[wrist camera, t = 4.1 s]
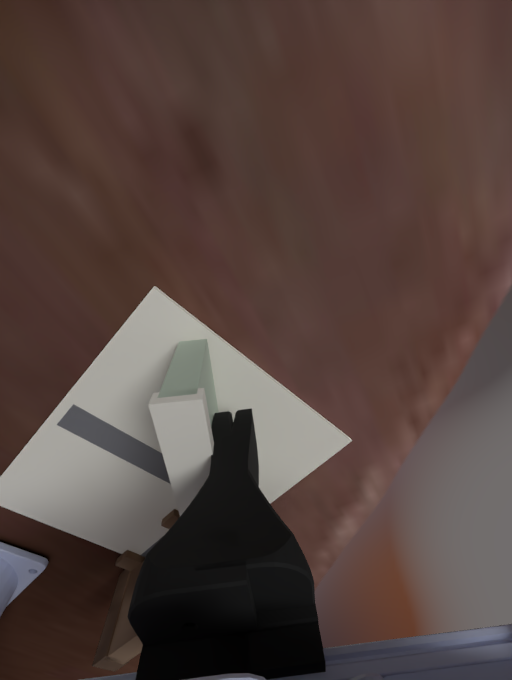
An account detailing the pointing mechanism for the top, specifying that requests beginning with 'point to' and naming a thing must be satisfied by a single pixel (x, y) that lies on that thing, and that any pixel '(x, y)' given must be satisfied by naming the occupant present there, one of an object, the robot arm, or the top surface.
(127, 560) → the brown wooden block
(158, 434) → the pale green long block
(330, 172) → the top surface
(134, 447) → the card
